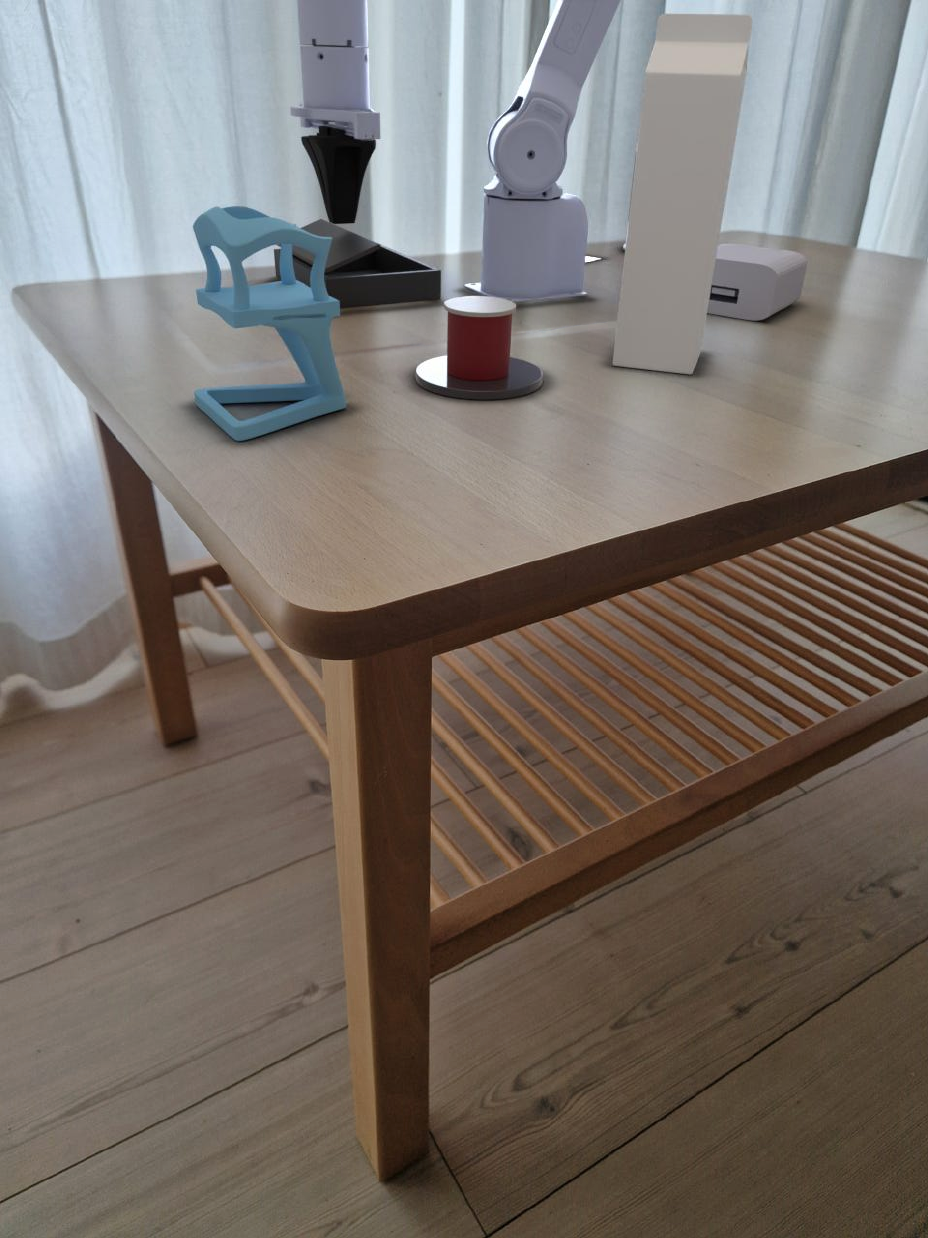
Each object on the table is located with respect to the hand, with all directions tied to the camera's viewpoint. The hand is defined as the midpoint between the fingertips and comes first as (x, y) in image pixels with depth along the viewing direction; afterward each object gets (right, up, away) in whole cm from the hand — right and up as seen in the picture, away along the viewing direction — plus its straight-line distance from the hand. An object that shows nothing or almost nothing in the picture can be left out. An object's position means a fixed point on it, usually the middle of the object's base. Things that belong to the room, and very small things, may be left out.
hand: (342, 222), depth 82 cm
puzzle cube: (+22, +5, +21) cm, 31 cm away
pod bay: (+1, -5, +4) cm, 6 cm away
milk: (+26, -17, -13) cm, 34 cm away
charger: (+39, -6, +5) cm, 39 cm away
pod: (+12, -19, -19) cm, 30 cm away
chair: (-1, -24, -25) cm, 35 cm away
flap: (-2, -2, 0) cm, 3 cm away
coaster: (+12, -19, -19) cm, 30 cm away
